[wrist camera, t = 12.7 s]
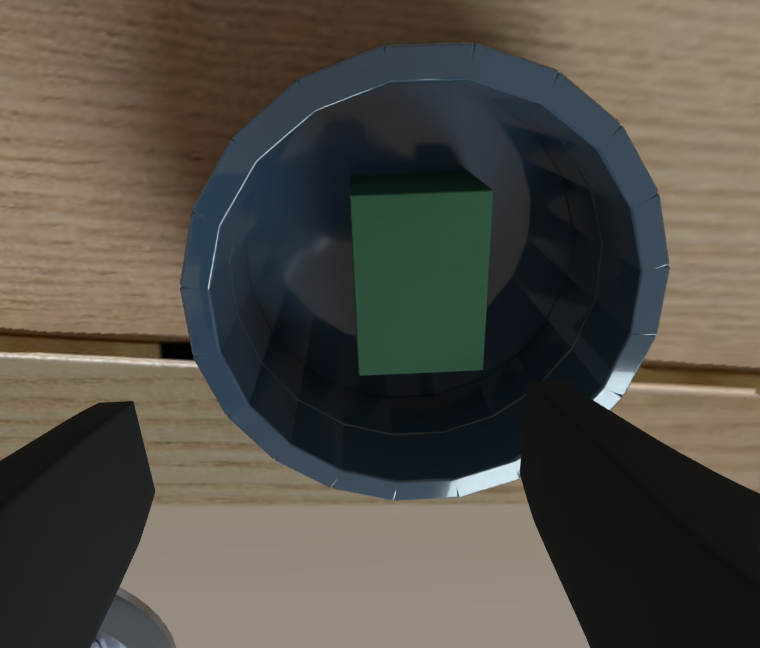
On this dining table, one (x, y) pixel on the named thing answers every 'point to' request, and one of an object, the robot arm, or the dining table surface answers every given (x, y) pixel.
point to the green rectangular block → (420, 271)
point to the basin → (505, 279)
